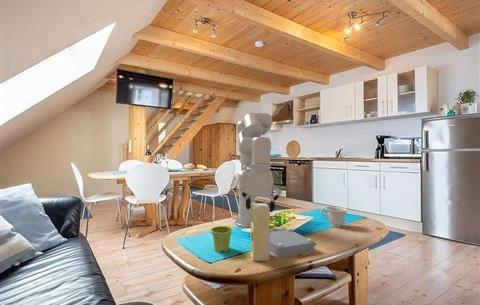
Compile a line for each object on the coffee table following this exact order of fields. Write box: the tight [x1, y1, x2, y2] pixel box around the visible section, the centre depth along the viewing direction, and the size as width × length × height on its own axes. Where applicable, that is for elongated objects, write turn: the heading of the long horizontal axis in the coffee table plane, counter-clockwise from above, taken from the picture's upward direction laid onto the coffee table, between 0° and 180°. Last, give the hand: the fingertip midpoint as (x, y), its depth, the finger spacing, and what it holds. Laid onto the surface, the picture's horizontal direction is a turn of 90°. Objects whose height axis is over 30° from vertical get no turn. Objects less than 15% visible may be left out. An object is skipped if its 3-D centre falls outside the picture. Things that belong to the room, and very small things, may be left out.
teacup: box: [319, 205, 349, 228], centre depth 149 cm, size 12×15×10 cm
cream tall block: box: [250, 202, 271, 262], centre depth 104 cm, size 8×7×21 cm
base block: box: [269, 227, 315, 259], centre depth 116 cm, size 18×18×5 cm
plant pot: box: [210, 225, 234, 252], centre depth 111 cm, size 9×9×9 cm
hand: (259, 210), depth 104 cm, fingers open, 9 cm apart
